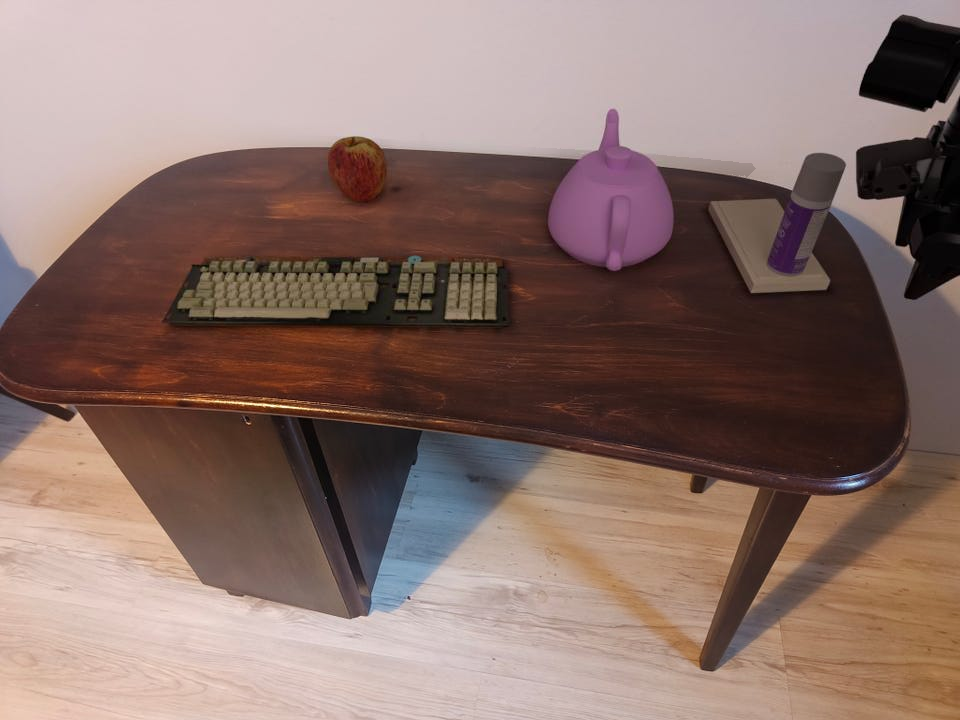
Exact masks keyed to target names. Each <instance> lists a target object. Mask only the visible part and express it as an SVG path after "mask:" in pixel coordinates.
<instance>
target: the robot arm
mask: <svg viewBox="0 0 960 720" xmlns="http://www.w3.org/2000/svg"><path fill="white" fill-rule="evenodd" d="M959 82H960V27H959V26H953V25H947V24H942V23H937V22H932V21H931V22H930V21H927V20H924V19H921V18H919V17H917V16H913V15H907V14H900V15H899V16H898V17H896V19H894V20H893V21H892V22H891V25H890V27H889V29H888V32H887V35H885V37H884V39H883V40H882V42H881V44H880V45H879V47H878V49H877V51H876V52H875V55H874V56H873V59H872V61H870V62H869V63H868V64H867V66H866V68H865V71H864V74H863V76H862V79H861V82H860V85H859V90H858V96H859V97H861V98H865V99H869V100H872V101H876V102H877V101H878V102H880V103H885V104H889V105H892V106H897V107H901V108H905V109H909V110H913V111H917V112H922V113H926V112H927V111H928V110H930V109H931V110H932V109H933V108H934V106H935V104H936V103H940V104H944V105H945V104H946V103H947V102H948V100H950V97H951V96H952V95H953V93H954V92H955V89H956V87H957V86H958V84H959ZM855 183H856V191H857V192H856V194H857V197H858V198H859V199H861V200H864V201H865V200H866V201H869V200H877V201H881V200H882V201H883V200H889V199H895V198H903V199H902V206H901V210H900V216H899V219H898V225H897V231H896V236H895V241H894V245H895V246H896V247H900V248H906V247H908V249H909V254H910V256H911V258H912V259H913V260H914V263H913V265H912V268H911V271H910V274H909V277H908V280H907V282H906V285H905V289H904V292H903V298H904V299H906V300H912V301H916V300H919V299H920V298H922V297H924V296H925V295H927V294H929V293H931V292H933V291H934V290H936V289H937V288H939V287H941V286H943V285H945V284H946V283H948V282H950V281H951V280H953V279H955V278H958V277H960V95H958V97H957V100H956V101H955V104H954V106H953V107H952V110H951V111H950V114H949V115H948V117H947V118H946V120H938V121H937V122H936V124H933V125H931V128H930V129H929V131H928V133H927V135H926V136H925V137H918V136H916V137H913V138H912V139H900V140H894V141H886V142H882V143H876V144H870V145H865V146H862V147H859V148H858V149H857V150H856V151H855Z"/></svg>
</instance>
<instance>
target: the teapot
mask: <svg viewBox="0 0 960 720" xmlns="http://www.w3.org/2000/svg"><path fill="white" fill-rule="evenodd" d="M619 124H620V117H619V112H618V110H617V109H616V108H610V109H609V110H608V112H607V114H606V118H605V125H604V131H603V134H602V138H601V141H600V145H599V147H598V149H597V150H593V151H591V152H588V153H587V154H585V155H583V156H582V157H581V158H580V159H579V160H578V161H577V162H576V163H575V164H574V165H573V166H572V167H571V169H570V170H569V171H568V172H567V173H566V175H565V176H564V178H563V179H562V180H561V182H560V183H559V185H558V187H557V189H556V191H555V193H554V195H553V197H552V200H551V203H550V207H549V210H548V216H547V217H548V218H547V225H548V226H547V227H548V230H549V232H550V235H551V237H552V239H553V240H554V241H555V243H556V244H557V245H558V246H559V247H560V248H561V249H562V250H563V251H564V252H565V253H566V254H567V255H569V256H571V257H572V258H573V259H575V260H577V261H579V262H582V263H584V264H587V265H591V266H595V267H601V268H606V269H607V270H609V271H612V272H617V271H620V270H621V269H622V268H624V267H630V266H634V265H637V264H640V263H642V262H644V261H645V260H648V259H650V258H651V257H653V256H654V255H656V254H658V253H659V252H660V251H661V250H663V248H665V247H666V246H667V244H668V242H669V241H670V240H671V237H672V235H673V230H674V222H675V221H674V219H675V218H674V217H675V216H674V215H675V214H674V206H673V200H672V197H671V193H670V191H669V188H668V185H667V183H666V181H665V179H664V177H663V175H662V173H661V171H660V169H659V168H658V166H657V165H656V163H655V162H654V161H653V160H652V159H651V158H650V157H648V156H647V155H646V154H643V153H641V152H639V151H635V150H632V149H631V148H629V147H627V146H623V145H620V144H621V143H620V133H619V132H620V131H619V126H620V125H619Z"/></svg>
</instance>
